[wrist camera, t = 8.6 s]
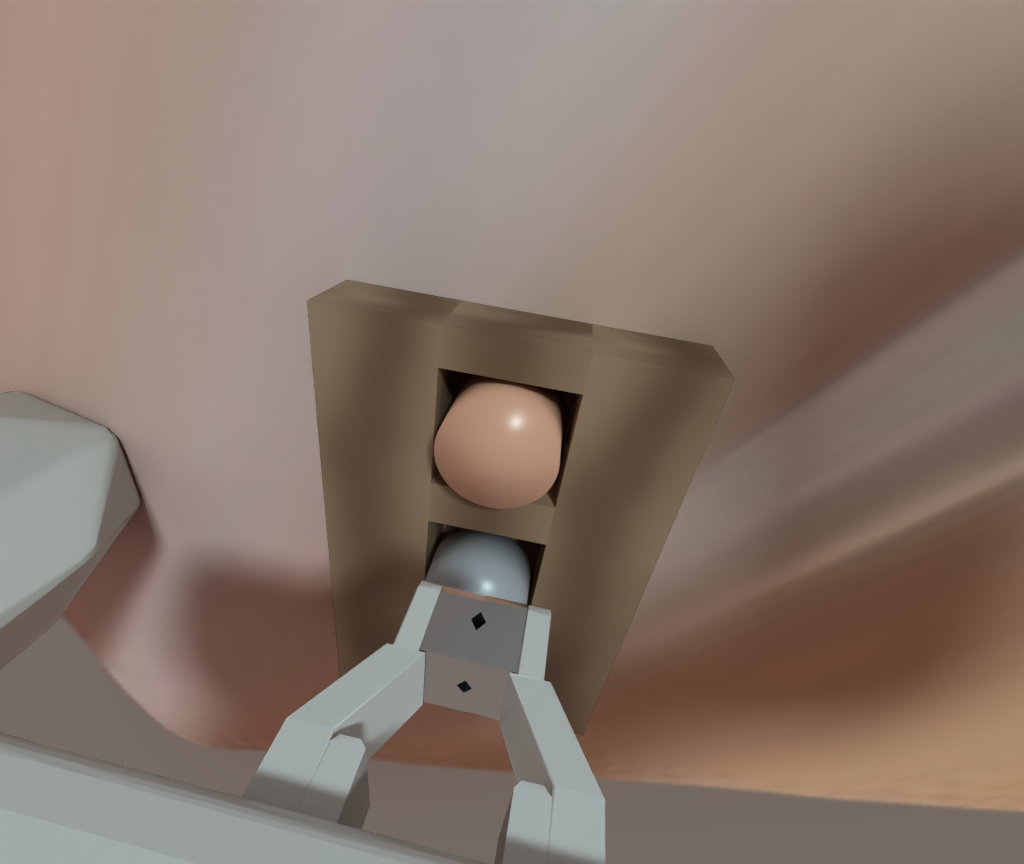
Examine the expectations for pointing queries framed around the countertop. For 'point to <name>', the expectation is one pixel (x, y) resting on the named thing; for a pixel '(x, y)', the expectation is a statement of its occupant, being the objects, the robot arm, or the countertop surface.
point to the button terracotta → (500, 442)
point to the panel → (549, 520)
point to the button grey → (482, 565)
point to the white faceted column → (53, 512)
